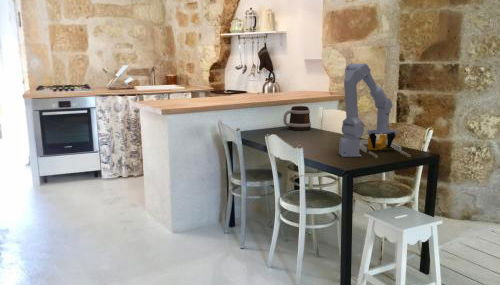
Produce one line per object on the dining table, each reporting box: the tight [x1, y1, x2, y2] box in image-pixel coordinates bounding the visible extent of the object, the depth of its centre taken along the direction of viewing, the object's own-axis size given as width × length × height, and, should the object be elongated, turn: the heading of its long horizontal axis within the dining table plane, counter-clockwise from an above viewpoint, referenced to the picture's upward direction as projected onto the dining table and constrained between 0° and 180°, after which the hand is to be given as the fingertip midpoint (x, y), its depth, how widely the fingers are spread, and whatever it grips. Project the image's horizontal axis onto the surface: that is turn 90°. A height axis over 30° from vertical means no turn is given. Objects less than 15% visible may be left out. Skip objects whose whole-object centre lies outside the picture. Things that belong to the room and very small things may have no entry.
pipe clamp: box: [367, 134, 387, 151], centre depth 226 cm, size 12×4×6 cm, turn 128°
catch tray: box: [359, 138, 402, 153], centre depth 228 cm, size 19×21×2 cm
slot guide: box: [368, 150, 412, 159], centre depth 210 cm, size 17×10×1 cm, turn 94°
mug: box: [283, 105, 312, 132], centre depth 286 cm, size 20×15×15 cm
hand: (381, 148), depth 221 cm, fingers open, 7 cm apart
